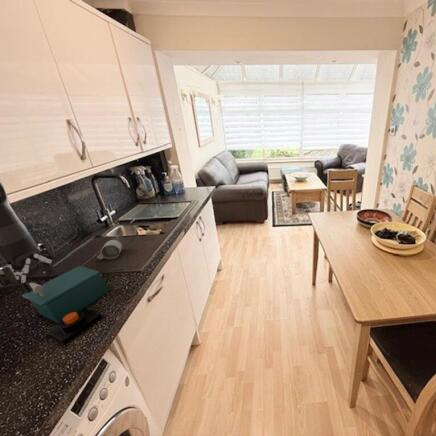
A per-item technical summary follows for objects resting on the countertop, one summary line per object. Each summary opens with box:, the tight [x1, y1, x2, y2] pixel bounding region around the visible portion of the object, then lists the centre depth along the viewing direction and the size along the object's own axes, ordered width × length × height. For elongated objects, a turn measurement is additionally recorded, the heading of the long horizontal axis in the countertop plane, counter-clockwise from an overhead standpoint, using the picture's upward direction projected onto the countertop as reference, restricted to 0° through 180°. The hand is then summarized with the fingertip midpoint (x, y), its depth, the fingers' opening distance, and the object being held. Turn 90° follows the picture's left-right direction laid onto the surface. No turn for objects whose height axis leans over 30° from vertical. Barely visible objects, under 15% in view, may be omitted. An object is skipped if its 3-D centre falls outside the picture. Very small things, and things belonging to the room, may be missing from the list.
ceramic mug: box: [97, 239, 123, 261], centre depth 118 cm, size 11×8×8 cm
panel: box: [46, 307, 102, 345], centre depth 79 cm, size 11×9×4 cm
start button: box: [63, 312, 79, 324], centre depth 78 cm, size 4×4×2 cm
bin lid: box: [21, 265, 101, 306], centre depth 86 cm, size 18×13×5 cm
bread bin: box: [29, 273, 110, 324], centre depth 89 cm, size 17×13×9 cm
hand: (40, 282), depth 75 cm, fingers open, 8 cm apart
